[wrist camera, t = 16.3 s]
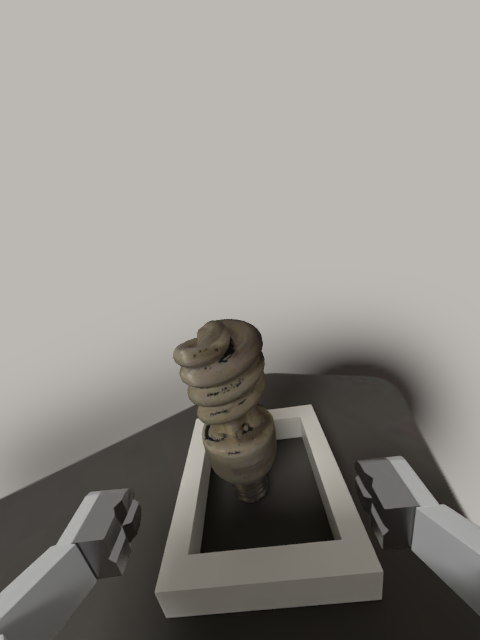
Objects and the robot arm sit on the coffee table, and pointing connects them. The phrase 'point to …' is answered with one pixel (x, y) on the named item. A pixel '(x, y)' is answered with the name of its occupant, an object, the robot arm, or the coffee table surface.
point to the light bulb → (231, 403)
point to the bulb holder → (267, 562)
